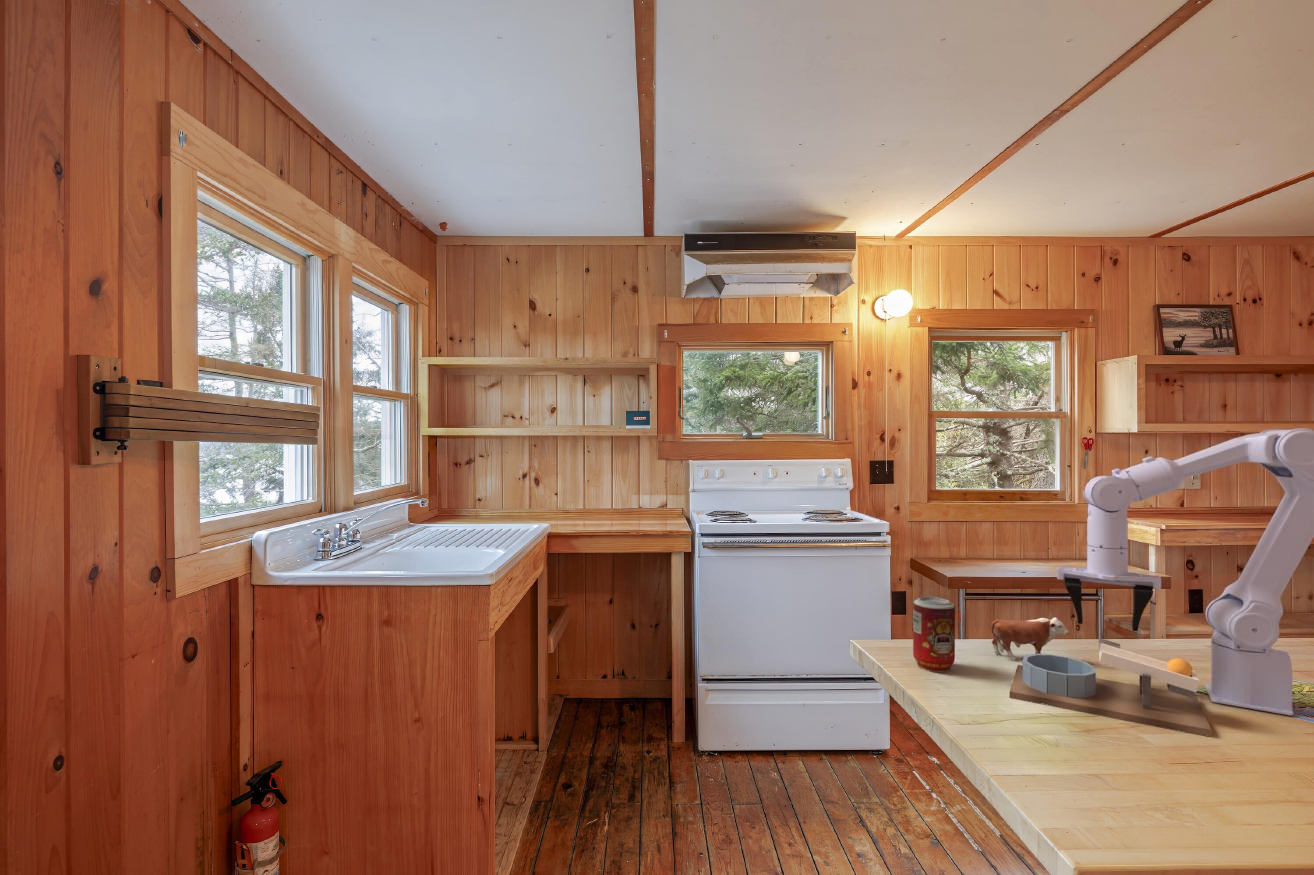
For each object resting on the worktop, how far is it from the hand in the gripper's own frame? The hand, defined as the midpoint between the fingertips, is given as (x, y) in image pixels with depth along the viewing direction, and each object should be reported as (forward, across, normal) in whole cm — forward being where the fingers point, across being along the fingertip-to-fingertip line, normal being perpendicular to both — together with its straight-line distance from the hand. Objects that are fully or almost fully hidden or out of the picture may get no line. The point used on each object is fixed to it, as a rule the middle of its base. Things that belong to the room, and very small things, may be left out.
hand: (1107, 626), depth 111 cm
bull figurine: (+10, -12, +8) cm, 18 cm away
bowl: (+10, -7, -8) cm, 15 cm away
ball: (+3, +9, -8) cm, 13 cm away
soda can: (+10, -26, -8) cm, 29 cm away
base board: (+10, -1, -8) cm, 13 cm away
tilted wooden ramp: (+6, +4, -4) cm, 8 cm away
